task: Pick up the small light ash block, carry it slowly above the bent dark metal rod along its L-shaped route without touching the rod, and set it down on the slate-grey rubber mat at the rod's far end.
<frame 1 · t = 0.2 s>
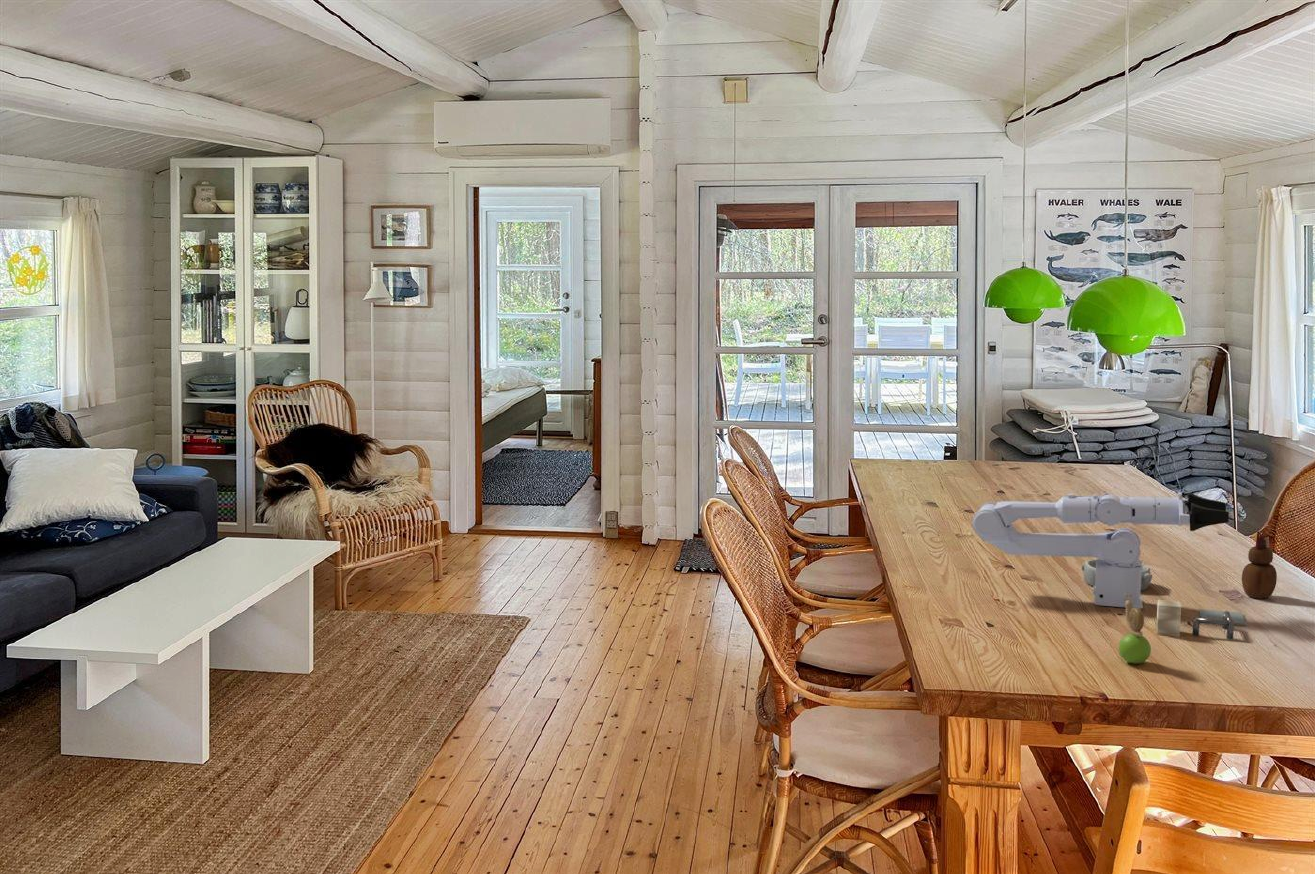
hand: (1227, 512, 229), 21 cm above the table, tool horizontal, fingers open, 7 cm apart
dish: (1115, 586, 255), on the table
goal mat: (1222, 618, 228), on the table
wooden figurine: (1258, 597, 243), on the table
ash block: (1167, 632, 219), on the table
snail figurine: (1132, 662, 202), on the table
bent rod: (1210, 631, 220), on the table
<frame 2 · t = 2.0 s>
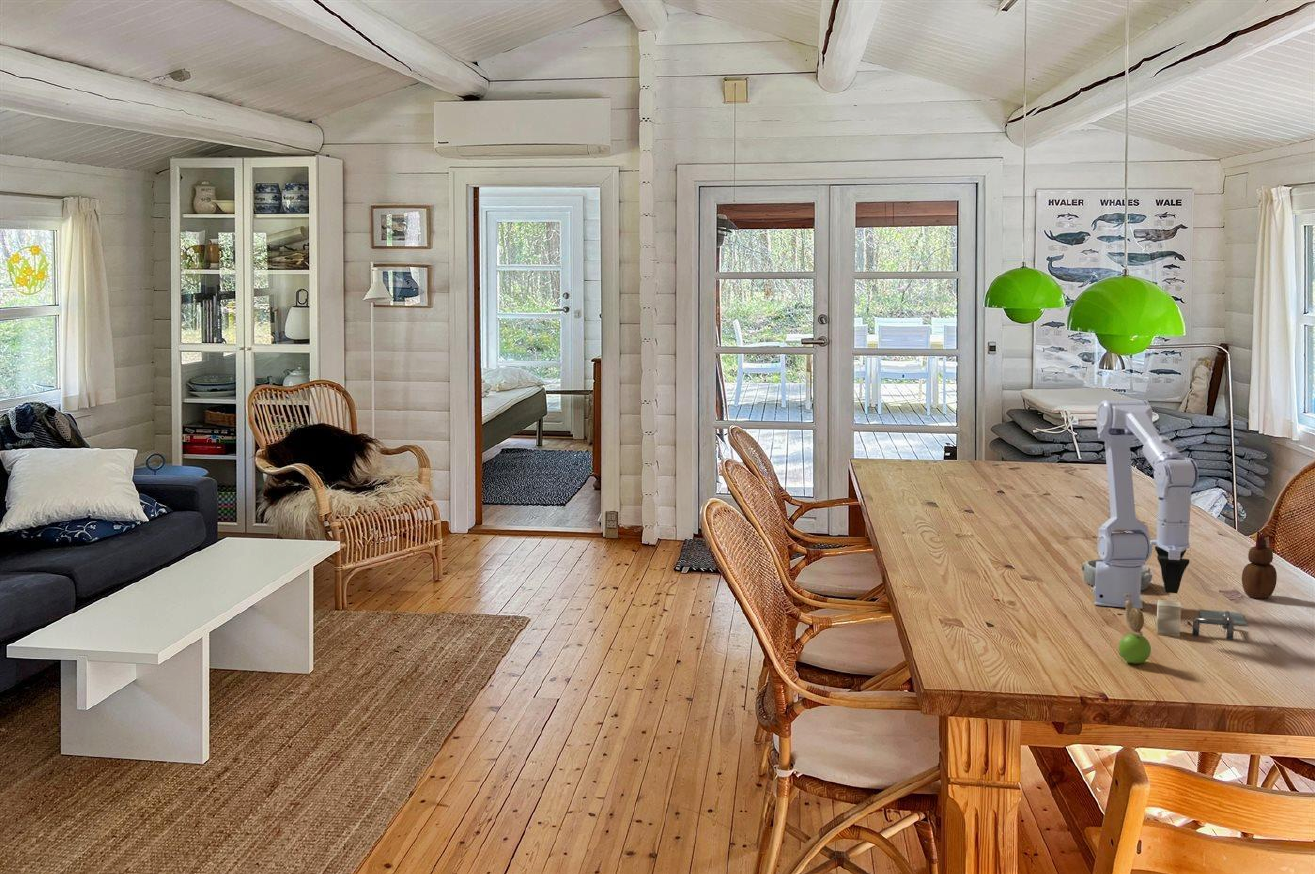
hand: (1170, 587, 218), 9 cm above the table, tool pointing down, fingers open, 7 cm apart
nothing on the table moved.
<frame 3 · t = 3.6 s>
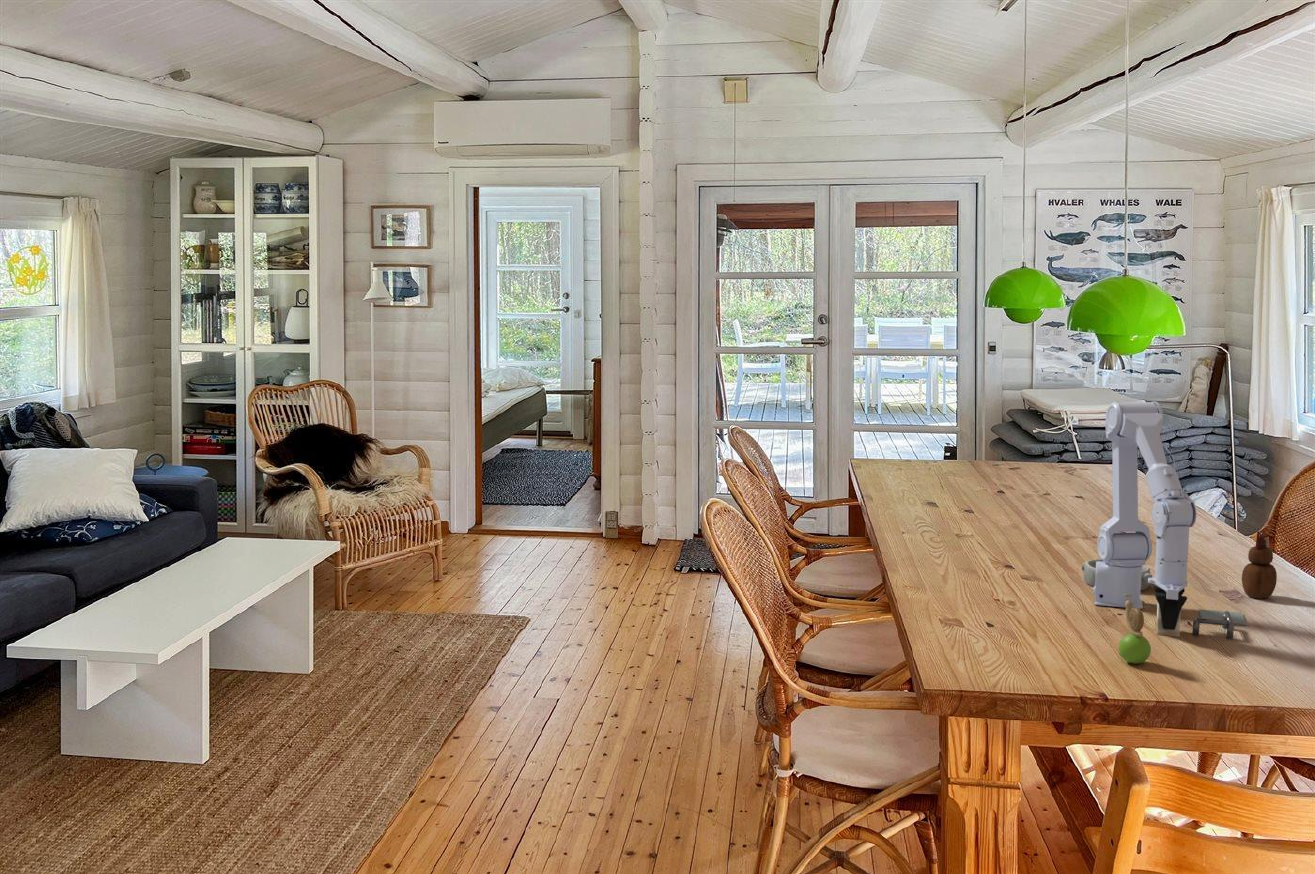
hand: (1168, 625, 219), 1 cm above the table, tool pointing down, fingers closed on ash block, 4 cm apart
ash block: (1167, 632, 219), on the table, touching gripper
everything else where it was.
when the fingers open (3 cm above the table, at t = 12.2 s): ash block drops 2 cm, resting on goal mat.
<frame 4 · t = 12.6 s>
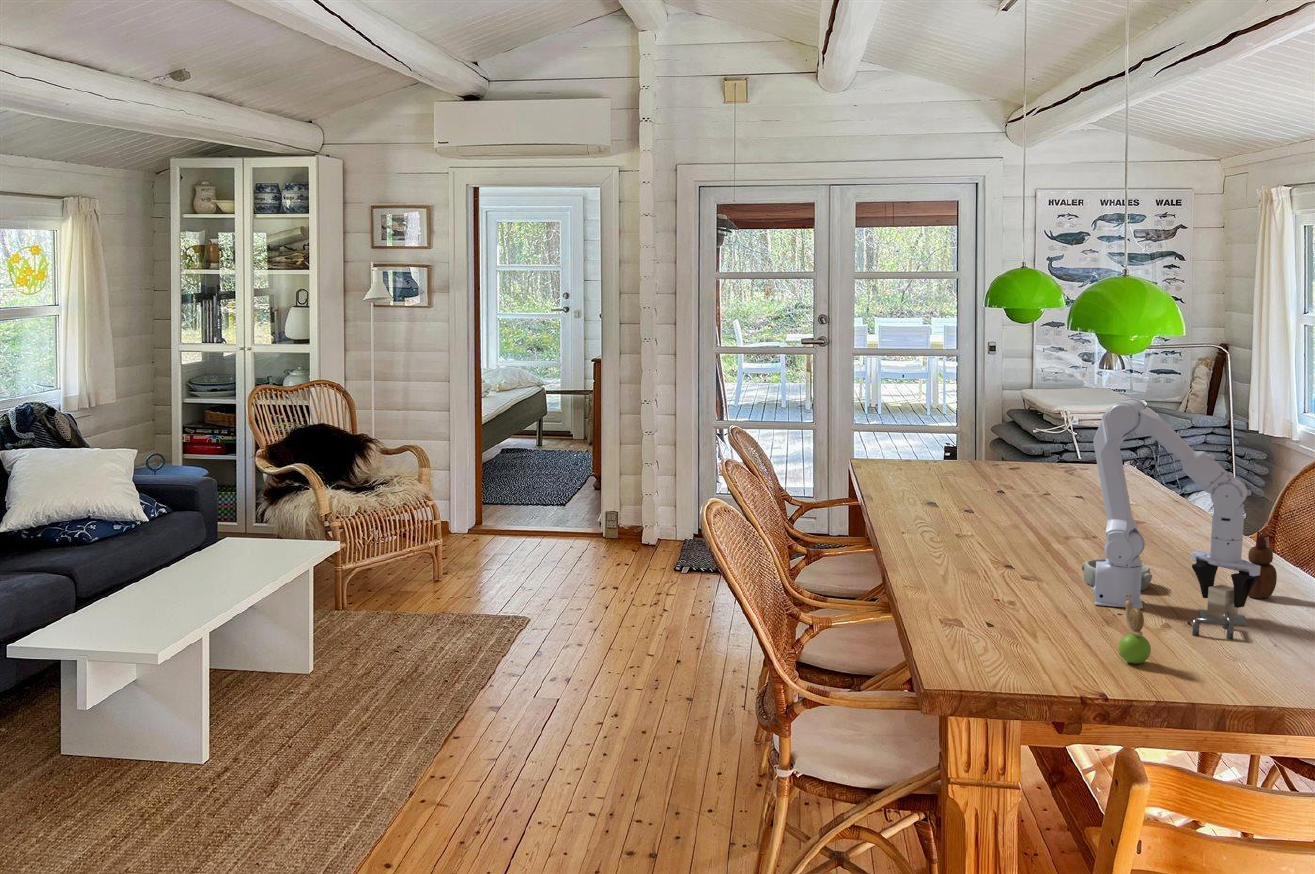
hand: (1223, 602, 228), 3 cm above the table, tool pointing down, fingers open, 7 cm apart
ash block: (1222, 616, 228), resting on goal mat
everything else where it was.
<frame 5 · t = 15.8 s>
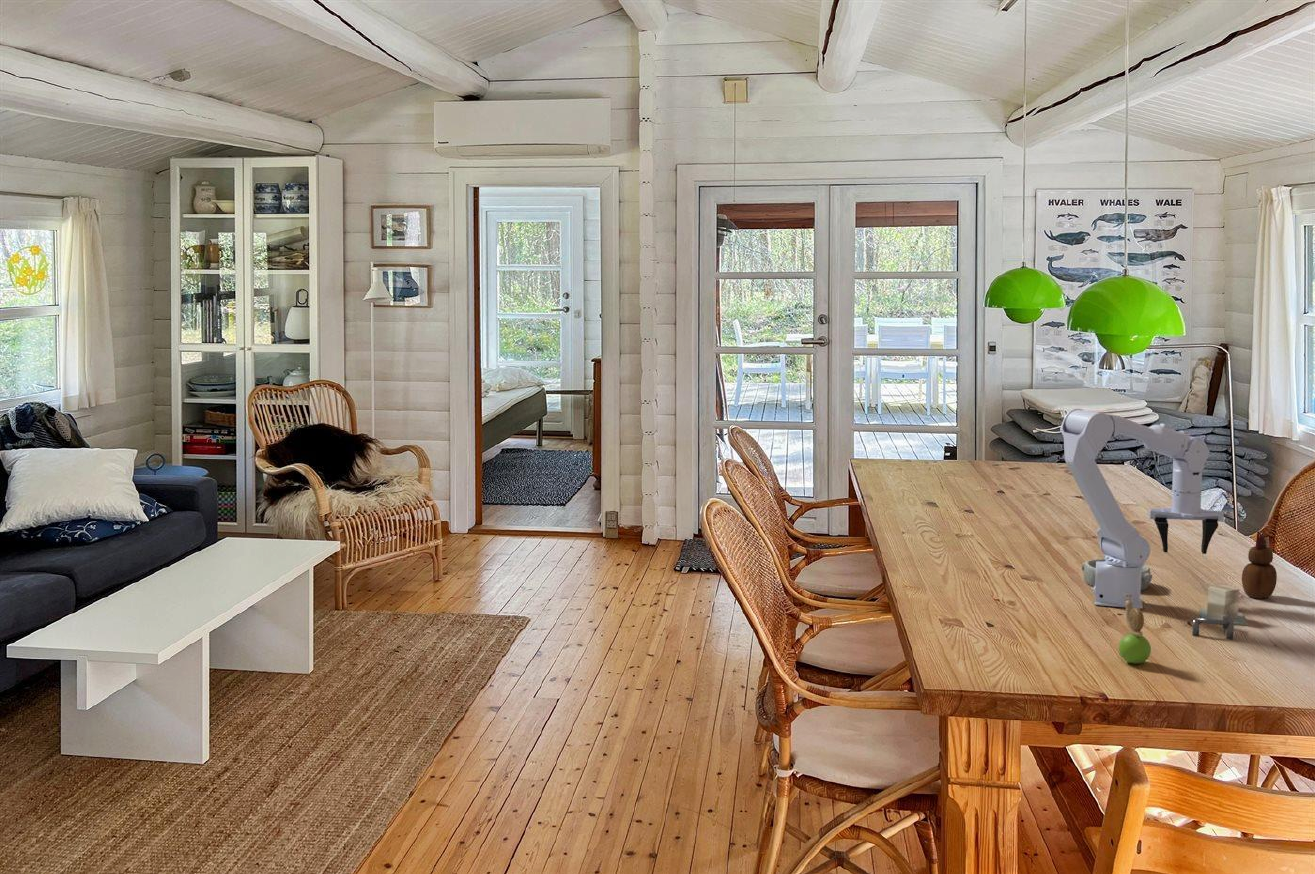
hand: (1184, 552, 241), 10 cm above the table, tool pointing down, fingers open, 7 cm apart
nothing on the table moved.
at the end: ash block 0.0 cm from the target spot, resting on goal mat; ash block tilted 0°; ash block touching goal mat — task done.
